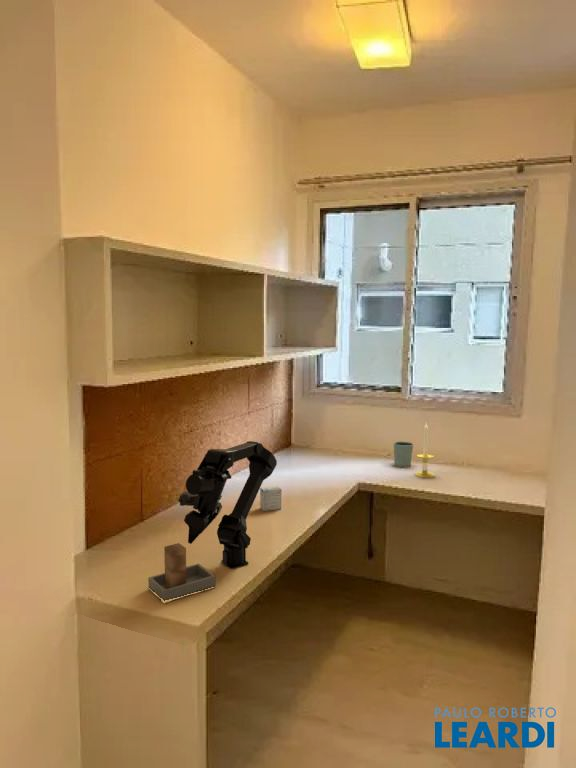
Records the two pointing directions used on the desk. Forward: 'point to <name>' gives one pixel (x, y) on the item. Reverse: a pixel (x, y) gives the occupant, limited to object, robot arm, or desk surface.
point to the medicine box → (270, 498)
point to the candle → (425, 456)
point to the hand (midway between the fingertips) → (194, 538)
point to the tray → (195, 582)
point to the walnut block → (175, 565)
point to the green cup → (403, 454)
